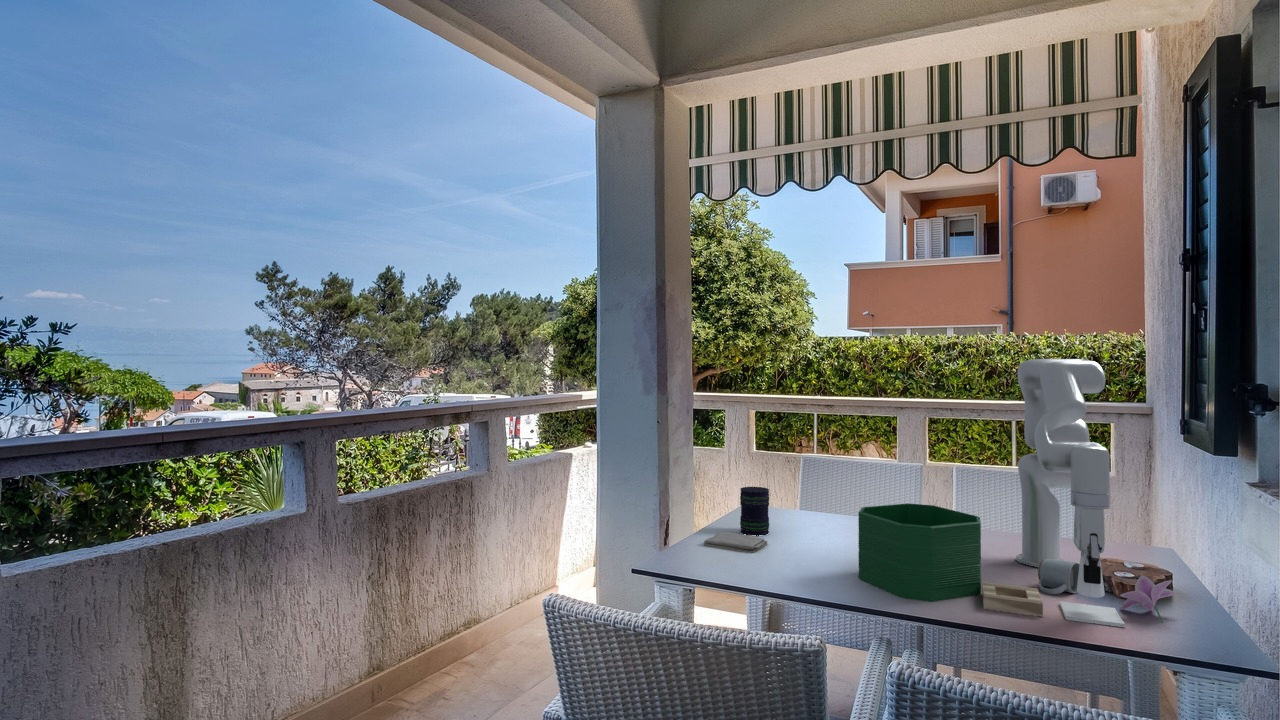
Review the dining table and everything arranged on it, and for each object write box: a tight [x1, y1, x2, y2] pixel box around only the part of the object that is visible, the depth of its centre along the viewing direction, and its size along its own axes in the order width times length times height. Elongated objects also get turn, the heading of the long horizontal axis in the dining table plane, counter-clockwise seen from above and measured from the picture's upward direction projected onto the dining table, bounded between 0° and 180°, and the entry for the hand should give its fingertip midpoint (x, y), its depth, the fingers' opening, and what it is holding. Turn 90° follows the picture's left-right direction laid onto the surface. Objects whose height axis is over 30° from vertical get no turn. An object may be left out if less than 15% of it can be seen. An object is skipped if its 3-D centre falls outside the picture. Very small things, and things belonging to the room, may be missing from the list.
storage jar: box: [739, 486, 770, 537], centre depth 236 cm, size 10×10×15 cm
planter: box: [857, 503, 982, 603], centre depth 181 cm, size 26×26×18 cm
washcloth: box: [703, 531, 769, 554], centre depth 219 cm, size 12×18×3 cm, turn 60°
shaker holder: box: [981, 581, 1044, 618], centre depth 164 cm, size 12×12×3 cm
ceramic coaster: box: [1059, 600, 1126, 628], centre depth 157 cm, size 11×11×1 cm
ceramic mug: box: [1037, 559, 1080, 595], centre depth 175 cm, size 11×8×8 cm
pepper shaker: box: [1077, 548, 1106, 599], centre depth 157 cm, size 5×5×11 cm
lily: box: [1119, 575, 1177, 624], centre depth 157 cm, size 12×12×10 cm
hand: (1090, 579), depth 157 cm, fingers closed on pepper shaker, 4 cm apart
